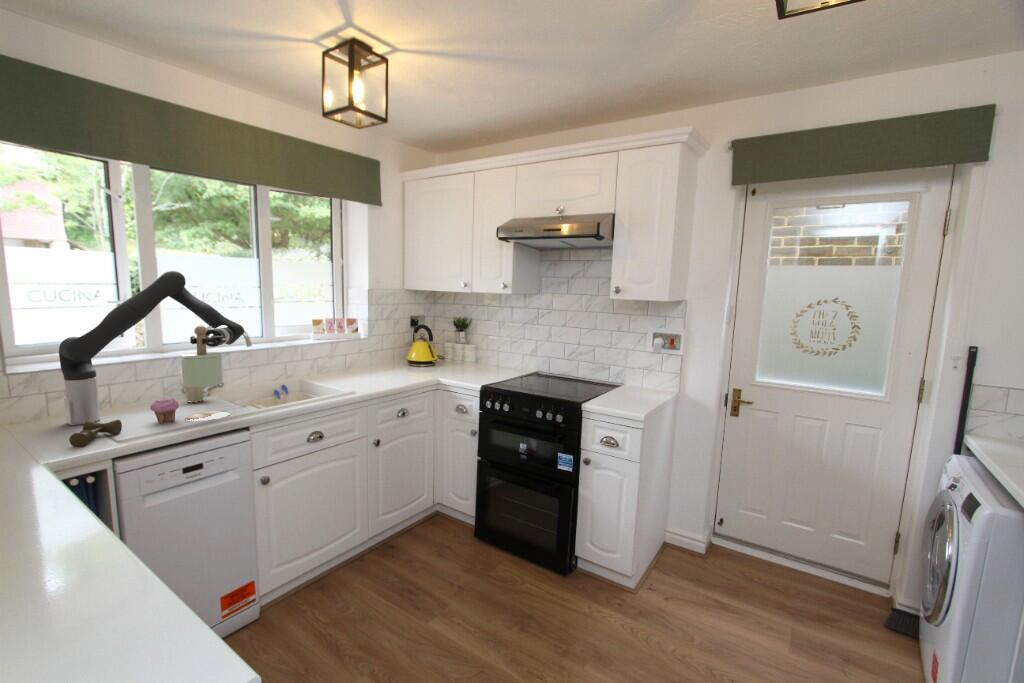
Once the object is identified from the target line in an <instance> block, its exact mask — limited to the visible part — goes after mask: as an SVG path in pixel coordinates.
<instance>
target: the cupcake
mask: <svg viewBox="0 0 1024 683" xmlns="http://www.w3.org/2000/svg"><path fill="white" fill-rule="evenodd" d="M179 405H180V404H179V401H178V400H177V399H175V398H173V397H165V396H164V397H160V398H157V399H155V400H154V401H153V402H152V403H151V404H150V411H151V412H153V413H154V414H155V417H156V419H157V420H156V421H157V423H158V424H167V423H172V422H175V421H176V410H177V409H178V408H179V407H180V406H179Z"/></svg>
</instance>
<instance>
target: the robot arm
mask: <svg viewBox="0 0 1024 683" xmlns="http://www.w3.org/2000/svg"><path fill="white" fill-rule="evenodd" d="M185 285H186V277H185V275H183V274H182V273H181V272H179V271H176V270H170V271H169V270H168V271H166V272H164V273H162V274H161V275H160V276H159V277H158V278H157V279H156V280H154V281H153V282H152V283H151V284H150V285H148V286H147V287H146V288H144V289H143V290H141V291H139V292H137V293H136V294H134V295H132V296H130V297H129V298H128V299H126V300H124V301H123V302H122V303H120V304H118V306H115V307H114V308H113V309H112V310H111V311H109V312H108V313H107V315H105V317H104V318H102V321H100V323H99V324H98V325H97V326H95V327H94V328H93V329H92V330H89V331H88V332H86V333H84V334H83V335H81V336H71V337H68V338H65V339H63V340H62V342H60V343H59V347H58V357H59V365H60V371H61V374H62V375H63V381H64V391H65V392H64V394H65V398H64V410H65V411H64V412H65V420H66V421H65V422H66V424H68V425H69V426H75V425H84V423H85V422H86V421H87V420H93V421H96V422H98V420H99V421H100V420H101V414H100V403H99V402H100V401H99V393H98V392H99V390H98V381H97V379H98V378H97V371H96V369H95V368H94V365H93V361H92V359H93V358H94V357H95V356H97V355H98V354H99V353H100V352H101V351H102V350H103V349H105V347H106V346H108V345H109V344H110V343H111V342H112V341H113V340H115V339H116V338H118V337H120V336H121V335H122V334H124V333H125V332H127V331H128V330H130V329H131V328H133V327H134V326H136V325H137V324H138V323H140V322H142V320H143V319H145V318H146V317H147V316H148V315H149V314H150V313H152V312H153V311H154V309H155V308H156V307H157V306H158V305H159V304H161V302H162V301H163V300H164V299H166V298H168V297H169V298H171V299H172V300H174V301H176V302H177V303H179V304H181V305H182V306H183V307H185V308H186V309H187V310H189V311H190V312H192V313H193V314H195V315H196V316H197V317H198V319H201V321H203V322H204V323H205V324H206V325H208V326H209V327H210V326H212V327H211V329H207V333H206V338H203V339H202V344H206V347H210V348H214V347H219V346H222V345H228V346H229V345H232V344H234V343H235V342H237V341H238V339H239V338H241V337H243V335H244V333H245V330H244V327H243V326H242V325H241V324H239V323H237V322H235V321H233V320H231V319H229V318H227V317H225V316H224V315H223V314H221V313H220V312H219V311H218V310H217V309H215V307H213V306H212V305H210V304H208V303H206V302H205V301H203V300H201V299H199V298H197V297H196V296H194V295H193V294H192V293H191V292H190V291H189V290H188V289H187V288H186V287H185ZM221 326H225V327H221ZM189 341H190V342H189V343H190V344H192V345H197V344H196V335H191V336H189Z"/></svg>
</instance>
